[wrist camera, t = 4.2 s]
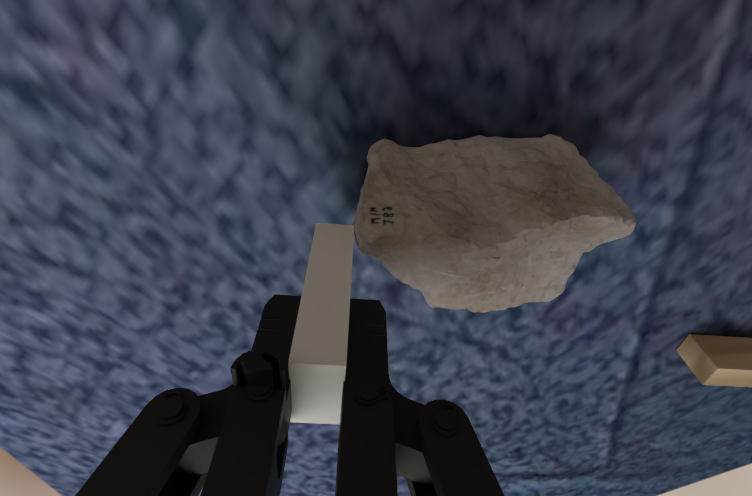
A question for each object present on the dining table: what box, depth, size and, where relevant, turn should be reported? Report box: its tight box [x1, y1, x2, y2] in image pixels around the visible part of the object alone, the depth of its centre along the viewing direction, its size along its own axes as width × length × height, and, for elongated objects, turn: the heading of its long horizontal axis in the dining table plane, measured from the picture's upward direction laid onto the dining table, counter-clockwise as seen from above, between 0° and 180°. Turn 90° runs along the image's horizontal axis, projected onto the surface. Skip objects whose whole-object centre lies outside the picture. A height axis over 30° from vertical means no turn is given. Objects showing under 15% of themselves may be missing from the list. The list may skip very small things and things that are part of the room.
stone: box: [353, 134, 637, 313], centre depth 16 cm, size 8×10×6 cm
